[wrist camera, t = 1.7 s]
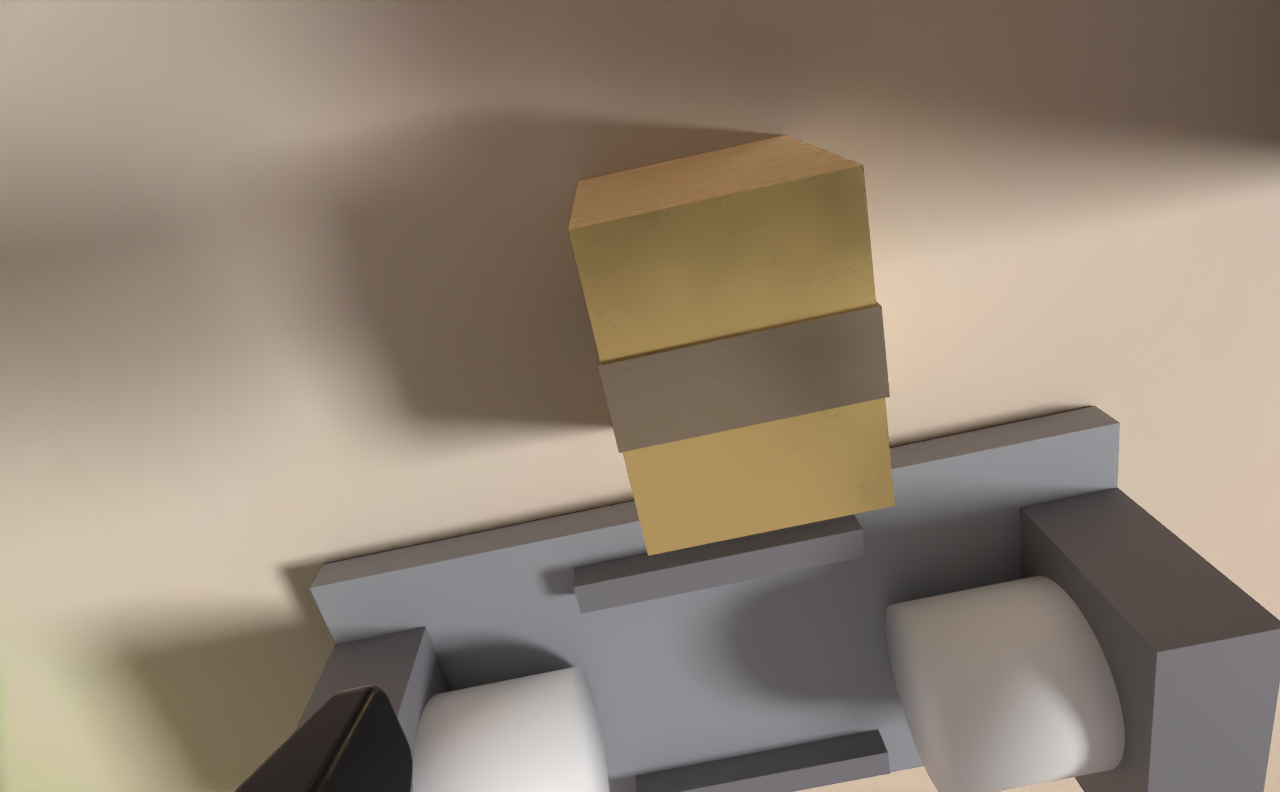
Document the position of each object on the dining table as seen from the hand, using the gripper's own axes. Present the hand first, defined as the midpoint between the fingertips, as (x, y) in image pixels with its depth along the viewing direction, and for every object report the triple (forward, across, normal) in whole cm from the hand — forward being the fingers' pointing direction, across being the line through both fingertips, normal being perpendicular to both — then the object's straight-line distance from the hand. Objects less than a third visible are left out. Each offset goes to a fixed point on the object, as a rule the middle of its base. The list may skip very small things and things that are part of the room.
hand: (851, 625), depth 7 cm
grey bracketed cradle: (+12, +1, +10) cm, 15 cm away
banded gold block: (+12, 0, 0) cm, 12 cm away
